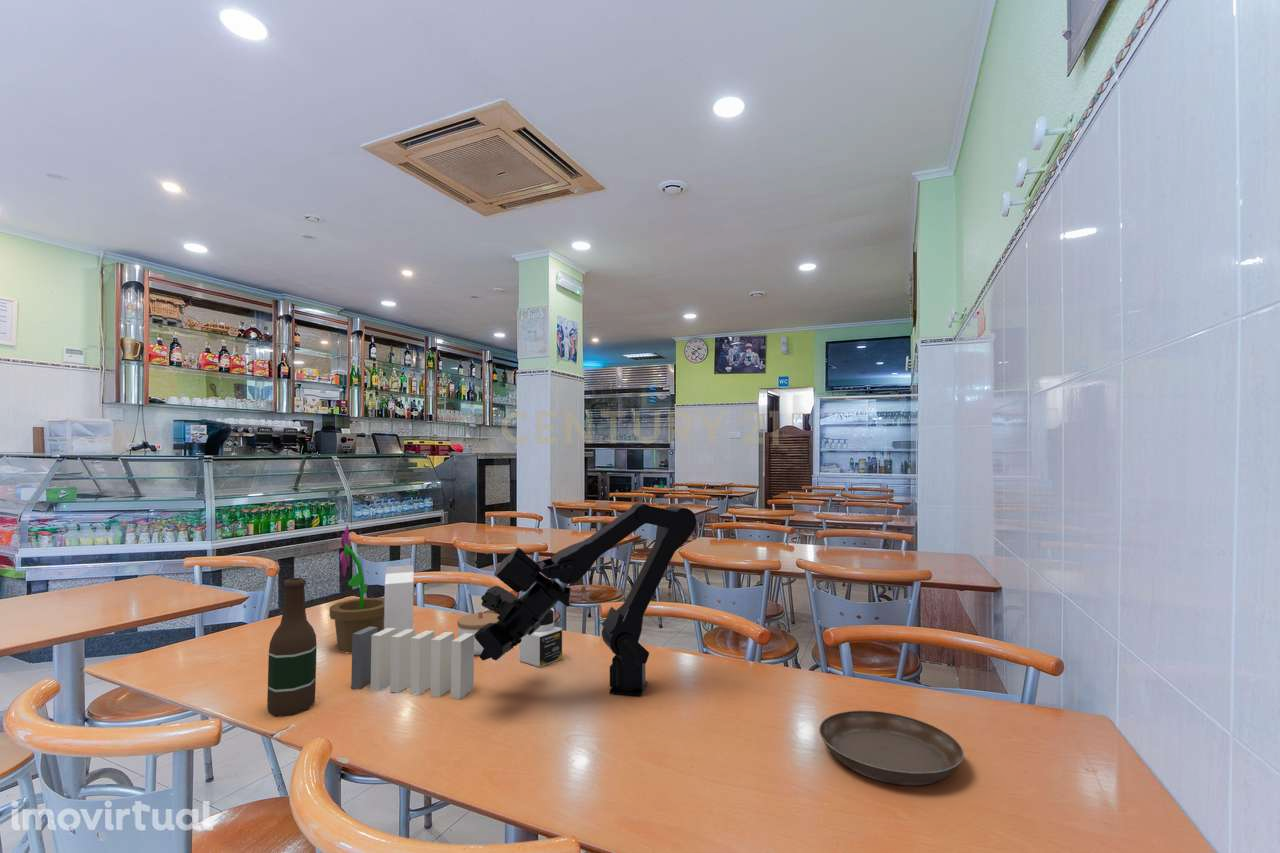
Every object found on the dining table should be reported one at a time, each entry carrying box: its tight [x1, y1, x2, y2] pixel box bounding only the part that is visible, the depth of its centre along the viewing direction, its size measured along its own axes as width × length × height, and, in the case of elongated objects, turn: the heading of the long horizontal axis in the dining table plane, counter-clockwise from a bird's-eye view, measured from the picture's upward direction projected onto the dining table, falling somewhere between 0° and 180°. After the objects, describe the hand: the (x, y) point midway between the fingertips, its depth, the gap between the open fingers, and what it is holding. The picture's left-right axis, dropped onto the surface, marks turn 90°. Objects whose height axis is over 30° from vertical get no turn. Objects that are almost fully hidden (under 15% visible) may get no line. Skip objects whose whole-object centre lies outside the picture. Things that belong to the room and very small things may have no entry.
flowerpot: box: [329, 524, 385, 653], centre depth 146 cm, size 14×14×30 cm
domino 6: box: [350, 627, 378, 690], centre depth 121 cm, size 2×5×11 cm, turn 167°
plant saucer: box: [818, 710, 965, 786], centre depth 91 cm, size 21×21×3 cm
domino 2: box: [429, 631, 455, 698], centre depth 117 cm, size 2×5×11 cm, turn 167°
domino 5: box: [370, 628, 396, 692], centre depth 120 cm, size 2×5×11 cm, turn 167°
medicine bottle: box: [518, 607, 563, 668], centre depth 135 cm, size 7×7×12 cm
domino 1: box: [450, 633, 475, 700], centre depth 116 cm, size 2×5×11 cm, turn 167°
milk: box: [384, 565, 415, 634], centre depth 133 cm, size 6×6×22 cm
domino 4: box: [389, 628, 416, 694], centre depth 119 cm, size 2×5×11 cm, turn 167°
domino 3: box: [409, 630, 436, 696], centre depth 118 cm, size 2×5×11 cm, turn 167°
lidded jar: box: [457, 610, 500, 656], centre depth 141 cm, size 11×11×9 cm
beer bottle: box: [266, 577, 318, 717], centre depth 110 cm, size 8×8×24 cm
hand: (481, 658), depth 115 cm, fingers closed
